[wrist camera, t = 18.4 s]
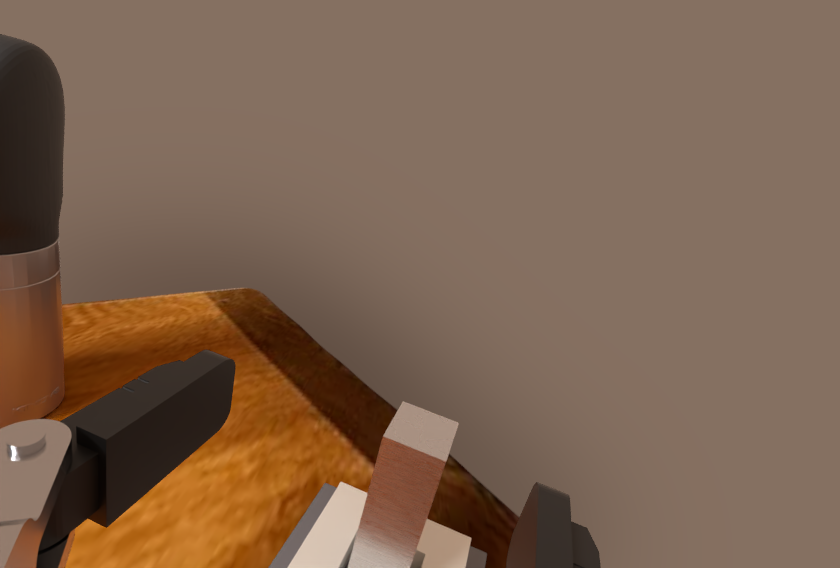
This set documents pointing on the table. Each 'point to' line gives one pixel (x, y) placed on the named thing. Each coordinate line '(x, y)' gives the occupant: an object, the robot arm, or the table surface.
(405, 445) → the steel peg
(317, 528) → the socket block
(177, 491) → the table surface
